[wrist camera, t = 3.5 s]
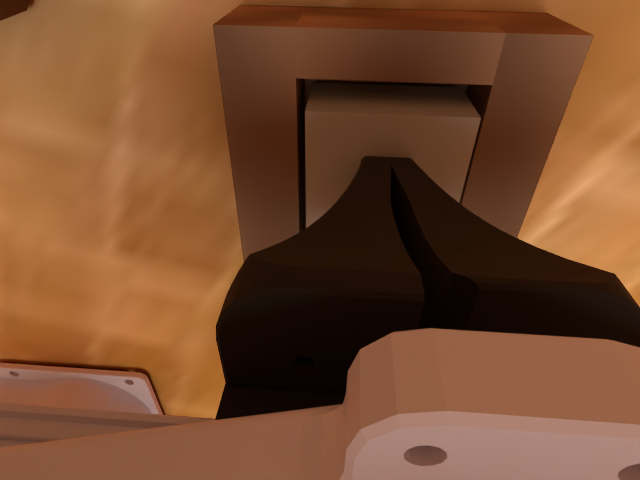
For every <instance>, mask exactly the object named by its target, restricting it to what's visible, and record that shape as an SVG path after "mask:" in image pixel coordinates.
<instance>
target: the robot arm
mask: <svg viewBox="0 0 640 480" xmlns="http://www.w3.org/2000/svg"><path fill="white" fill-rule="evenodd" d="M216 341H217V345H218V350H219V355H220V359H221V364H222V368H223V373H224V378H225V382H226V384H225V387H224V391H223V394H222V398H221V401H220V405H219V408H218V412H217V415H216V419H211V418H198V417H185V416H171V415H163V413H162V411H161V408H160V406H159V403H158V401H157V398H156V396H155V393H154V391H153V388H152V386H151V384H150V381H149V379H148V377H147V376H146V375H145V374H143V373H140V372H127V371H113V370H98V369H84V368H70V367H55V366H41V365H27V364H12V363H0V480H640V307H639V306H638V304H637V303H636V302H635V300H634V299H633V298H632V296H631V295H630V294H629V292H628V291H627V289H626V288H625V287H624V285H623V284H622V283H621V281H620V280H619V279H618V277H617V276H616V275H615V274H613V273H610V272H607V271H604V270H600V269H597V268H594V267H591V266H588V265H584V264H581V263H578V262H575V261H572V260H568V259H566V258H563V257H560V256H558V255H555V254H553V253H550V252H547V251H545V250H542V249H540V248H537V247H535V246H533V245H531V244H528V243H526V242H524V241H522V240H519V239H518V238H516V237H514V236H512V235H510V234H508V233H506V232H504V231H502V230H500V229H498V228H496V227H495V226H493V225H491V224H489V223H488V222H486V221H485V220H483V219H481V218H480V217H478V216H477V215H475V214H474V213H472V212H471V211H469V210H468V209H466V208H465V207H464V206H462V205H461V204H460V203H459V202H457V201H456V200H455V199H453V198H452V197H451V196H450V195H449V194H447V193H446V192H445V191H444V190H443V189H442V188H441V187H439V186H438V185H437V184H436V183H435V182H434V181H433V180H432V179H431V178H430V177H429V176H428V175H427V174H426V173H425V172H424V171H423V170H422V169H421V168H420V167H419V166H418V165H417V164H416V163H415V162H414V161H413V160H412V159H411V158H403V157H378V156H365V157H364V158H362V159H361V164H360V167H359V169H358V171H357V173H356V175H355V177H354V178H353V180H352V181H351V183H350V185H349V186H348V187H347V189H346V190H345V191H344V193H343V194H342V195H341V196H340V198H339V199H338V200H337V201H336V203H335V204H334V205H333V206H332V207H331V208H330V209H329V210H328V211H327V212H326V213H325V214H324V215H322V216H321V217H320V218H319V219H318V220H316V221H315V222H314V223H313V224H311V225H310V226H309V227H307V228H306V229H304V230H303V231H301V232H299V233H298V234H296V235H294V236H292V237H290V238H288V239H286V240H284V241H282V242H280V243H278V244H275V245H273V246H270V247H268V248H265V249H263V250H260V251H257V252H255V253H252V254H250V255H249V256H248V257H247V258H246V260H245V262H244V263H243V265H242V267H241V268H240V270H239V272H238V273H237V275H236V277H235V279H234V281H233V283H232V284H231V287H230V289H229V291H228V293H227V295H226V298H225V301H224V304H223V307H222V310H221V313H220V316H219V319H218V322H217V325H216Z"/></svg>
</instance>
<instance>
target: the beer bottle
mask: <svg viewBox="0 0 640 480" xmlns="http://www.w3.org/2000/svg"><path fill="white" fill-rule="evenodd" d="M29 1H30V0H0V21H1V20H3V19H6V18H8V17H11V16H13V15H16V14H18V13H21V12H24V11H26V10H27V7H28V4H29Z"/></svg>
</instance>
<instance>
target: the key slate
mask: <svg viewBox="0 0 640 480" xmlns="http://www.w3.org/2000/svg"><path fill="white" fill-rule="evenodd" d="M480 120H481V117H480V116H479V114H478V112H477V111H476V109H475V108H474V106H473V104H472V103H471V101H470V100H469V98H468V97H467V95H466V93H465V92H464V90H463V89H462V87H434V86H405V85H376V84H347V83H318V82H313V84H312V88H311V91H310V95H309V98H308V102H307V106H306V109H305V164H306V228H307V227H309V226H310V225H311V224H313V223H314V222H315V221H316V220H318V219H319V218H320V217H321V216H322V215H324V214H325V213H326V212H327V211H328V210H329V209H330V208H331V207H332V206H333V205H334V204H335V203H336V201H337V200H338V199H339V198H340V196H341V195H342V194H343V193H344V191H345V190H346V189H347V187H348V186H349V185H350V183H351V181H352V180H353V178H354V177H355V175H356V173H357V171H358V169H359V167H360V164H361V159H362V158H364V157H365V156H378V157H403V158H411V159H412V160H413V161H414V162H415V163H416V164H417V165H418V166H419V167H420V168H421V169H422V170H423V171H424V172H425V173H426V174H427V175H428V176H429V177H430V178H431V179H432V180H433V181H434V182H435V183H436V184H437V185H438V186H439V187H441V188H442V189H443V190H444V191H445V192H446V193H447V194H449V195H450V196H451V197H452V198H453V199H455V200H456V201H457V202H460V198H461V194H462V190H463V186H464V183H465V179H466V175H467V171H468V167H469V163H470V159H471V155H472V151H473V147H474V144H475V140H476V136H477V132H478V128H479V124H480Z"/></svg>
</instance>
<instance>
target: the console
mask: <svg viewBox="0 0 640 480" xmlns="http://www.w3.org/2000/svg"><path fill="white" fill-rule="evenodd" d="M213 29H214V36H215V44H216V52H217V59H218V67H219V75H220V82H221V90H222V98H223V105H224V113H225V121H226V128H227V136H228V144H229V151H230V159H231V167H232V175H233V182H234V190H235V198H236V205H237V213H238V221H239V228H240V236H241V244H242V251H243V259H244V262H245V260H246V258H247V257H248V256H249V255H250V254H252V253H255V252H257V251H260V250H263V249H265V248H268V247H270V246H273V245H275V244H278V243H280V242H282V241H284V240H286V239H288V238H290V237H292V236H294V235H296V234H298V233H299V232H301V231H303V230H304V229H306V164H305V109H306V106H307V102H308V98H309V95H310V91H311V88H312V84H313V82H318V83H347V84H376V85H405V86H434V87H462V89H463V90H464V92H465V93H466V95H467V97H468V98H469V100H470V101H471V103H472V104H473V106H474V108H475V109H476V111H477V112H478V114H479V116H480V117H481V120H480V124H479V128H478V132H477V136H476V140H475V144H474V147H473V151H472V155H471V159H470V163H469V167H468V171H467V175H466V179H465V183H464V186H463V190H462V194H461V198H460V202H459V203H460V204H461V205H462V206H464V207H465V208H466V209H468V210H469V211H471V212H472V213H474V214H475V215H477V216H478V217H480V218H481V219H483V220H485V221H486V222H488V223H489V224H491V225H493V226H495V227H496V228H498V229H500V230H502V231H504V232H506V233H508V234H510V235H512V236H514V237H516V238H517V236H518V234H519V231H520V229H521V226H522V223H523V221H524V218H525V215H526V213H527V210H528V207H529V205H530V202H531V199H532V197H533V194H534V192H535V189H536V186H537V184H538V181H539V178H540V176H541V173H542V170H543V168H544V165H545V163H546V160H547V157H548V155H549V152H550V149H551V147H552V144H553V141H554V139H555V136H556V134H557V131H558V128H559V126H560V123H561V120H562V118H563V115H564V112H565V110H566V107H567V104H568V102H569V99H570V97H571V94H572V91H573V89H574V86H575V83H576V81H577V78H578V75H579V73H580V70H581V68H582V65H583V62H584V60H585V57H586V54H587V52H588V49H589V46H590V44H591V41H592V38H593V35H591V34H589V33H587V32H585V31H583V30H581V29H579V28H577V27H575V26H573V25H571V24H568V23H566V22H564V21H562V20H560V19H558V18H556V17H554V16H552V15H550V14H548V13H522V12H484V11H445V10H407V9H368V8H330V7H291V6H253V5H240V6H239V7H237V8H236V9H234V10H233V11H232V12H230V13H229V14H227V15H226V16H225V17H223V18H222V19H220V20H219V21H218V22H216V23H215V24H213Z"/></svg>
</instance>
